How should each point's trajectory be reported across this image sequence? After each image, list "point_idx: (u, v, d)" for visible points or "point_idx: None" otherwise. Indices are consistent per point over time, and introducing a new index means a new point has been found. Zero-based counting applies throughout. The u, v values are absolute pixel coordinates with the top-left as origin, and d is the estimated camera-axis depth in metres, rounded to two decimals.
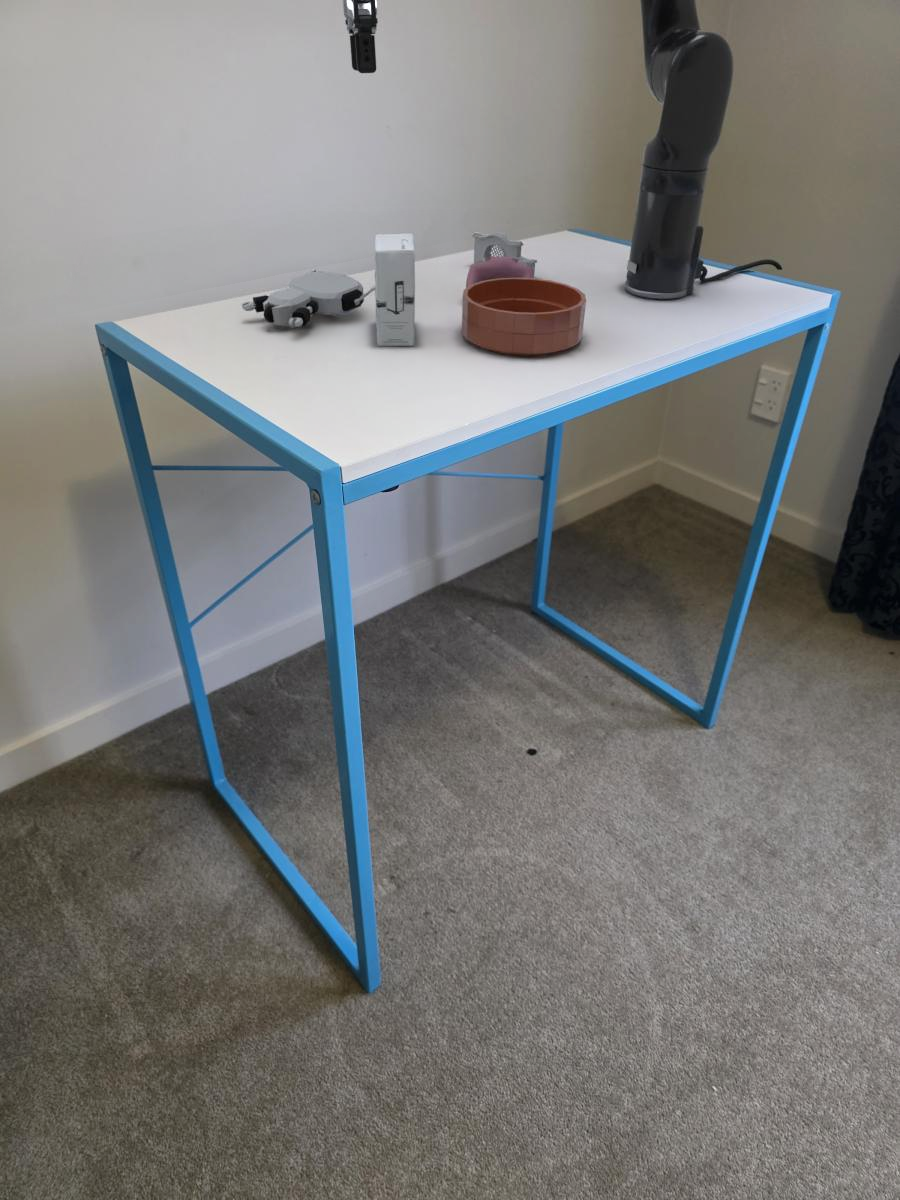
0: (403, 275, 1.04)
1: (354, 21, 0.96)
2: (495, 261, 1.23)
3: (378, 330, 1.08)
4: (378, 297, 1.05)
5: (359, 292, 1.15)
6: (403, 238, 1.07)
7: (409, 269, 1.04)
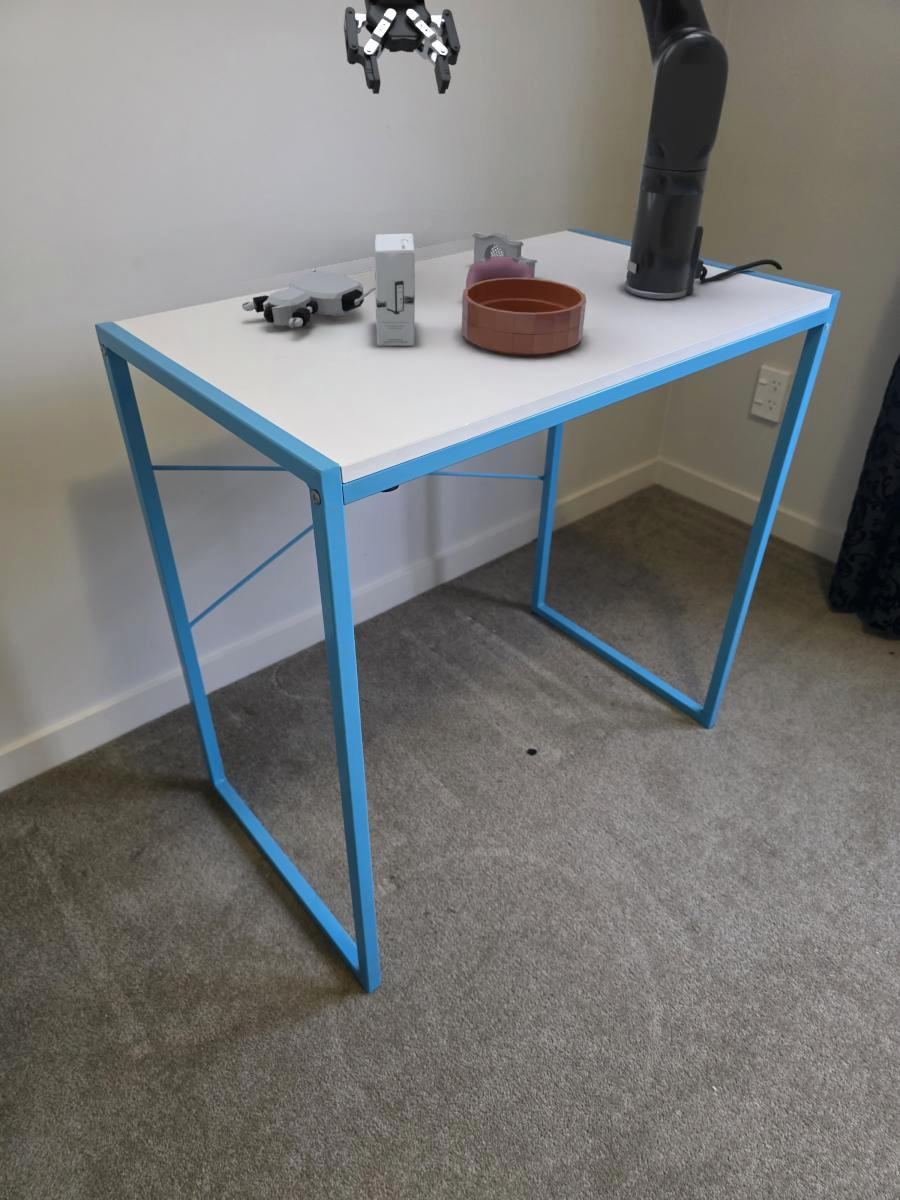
0: (403, 275, 1.04)
1: None
2: (495, 261, 1.23)
3: (378, 330, 1.08)
4: (378, 297, 1.05)
5: (359, 292, 1.15)
6: (403, 238, 1.07)
7: (409, 269, 1.04)
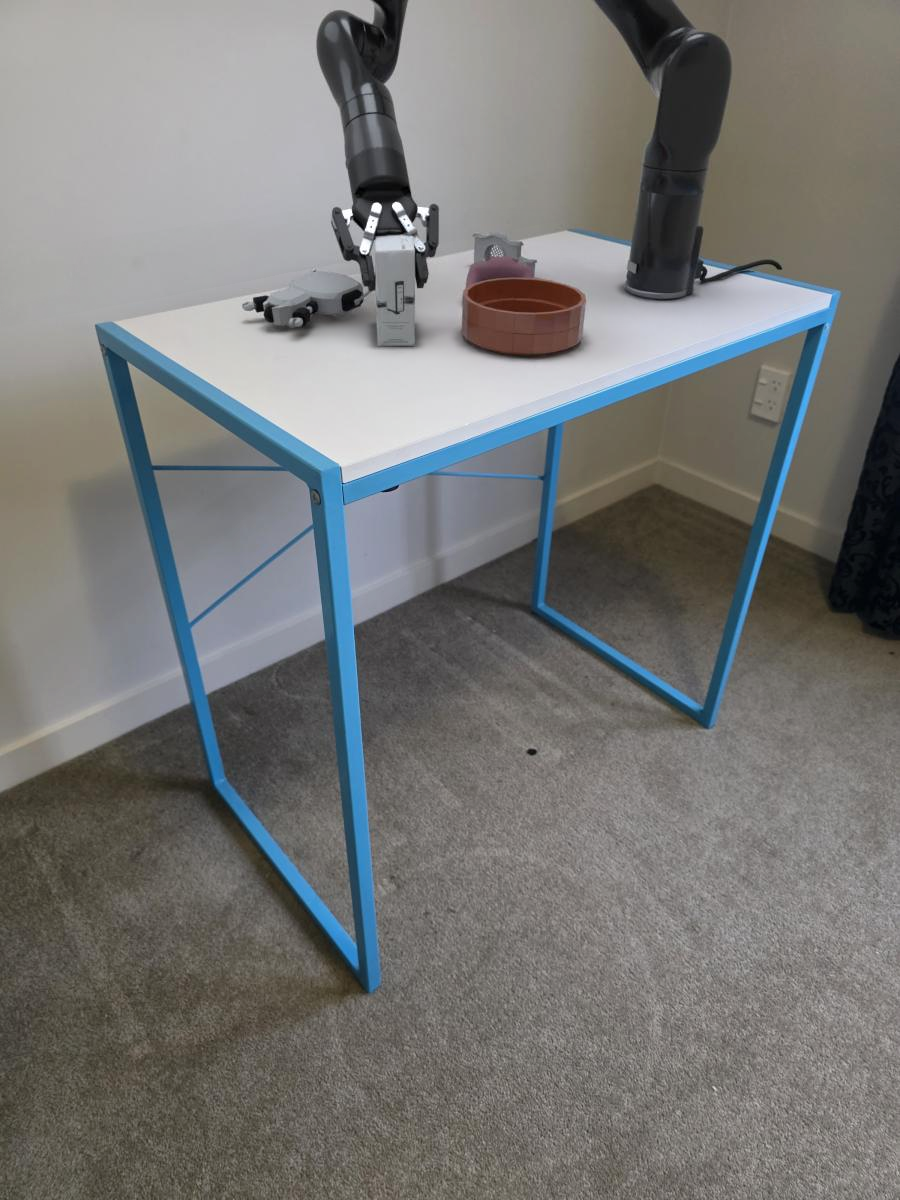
0: (403, 275, 1.04)
1: None
2: (495, 261, 1.23)
3: (378, 330, 1.08)
4: (378, 297, 1.05)
5: (359, 292, 1.15)
6: (403, 238, 1.07)
7: (409, 269, 1.04)
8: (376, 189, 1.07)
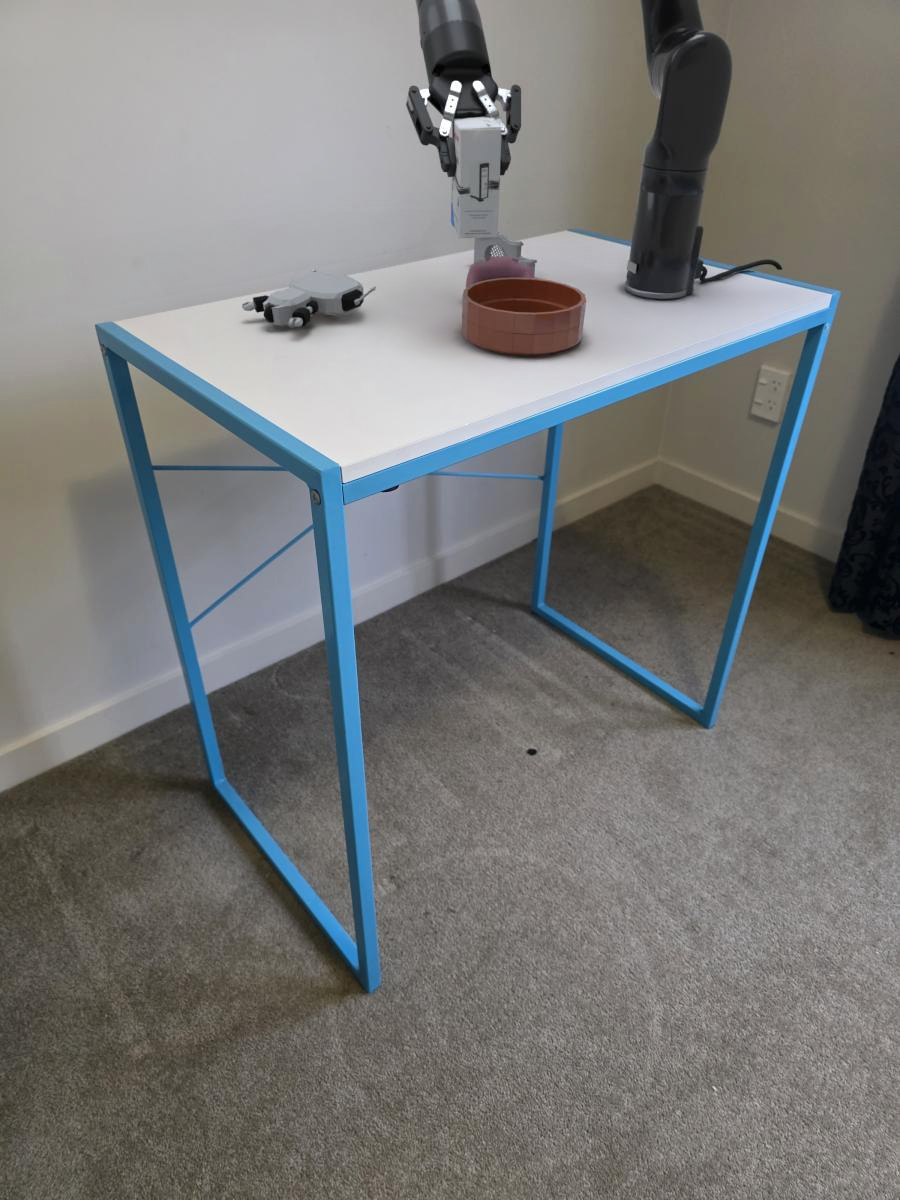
0: (488, 156, 0.97)
1: None
2: (495, 261, 1.23)
3: (460, 220, 1.00)
4: (461, 182, 0.98)
5: (359, 292, 1.15)
6: (484, 119, 0.99)
7: (495, 149, 0.96)
8: (455, 66, 1.00)
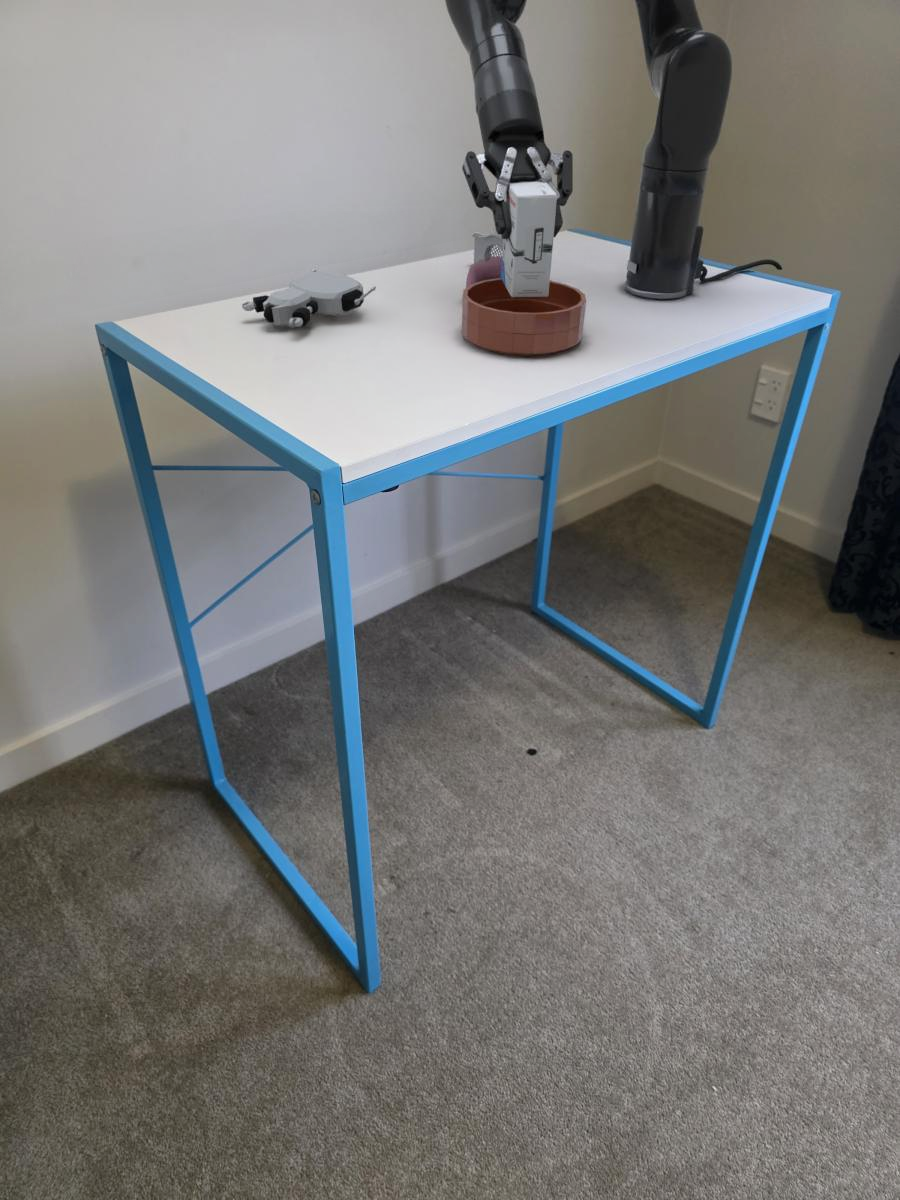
0: (543, 222, 1.01)
1: None
2: (495, 261, 1.23)
3: (513, 281, 1.04)
4: (516, 245, 1.02)
5: (359, 292, 1.15)
6: (538, 184, 1.03)
7: (550, 215, 1.00)
8: (510, 133, 1.04)
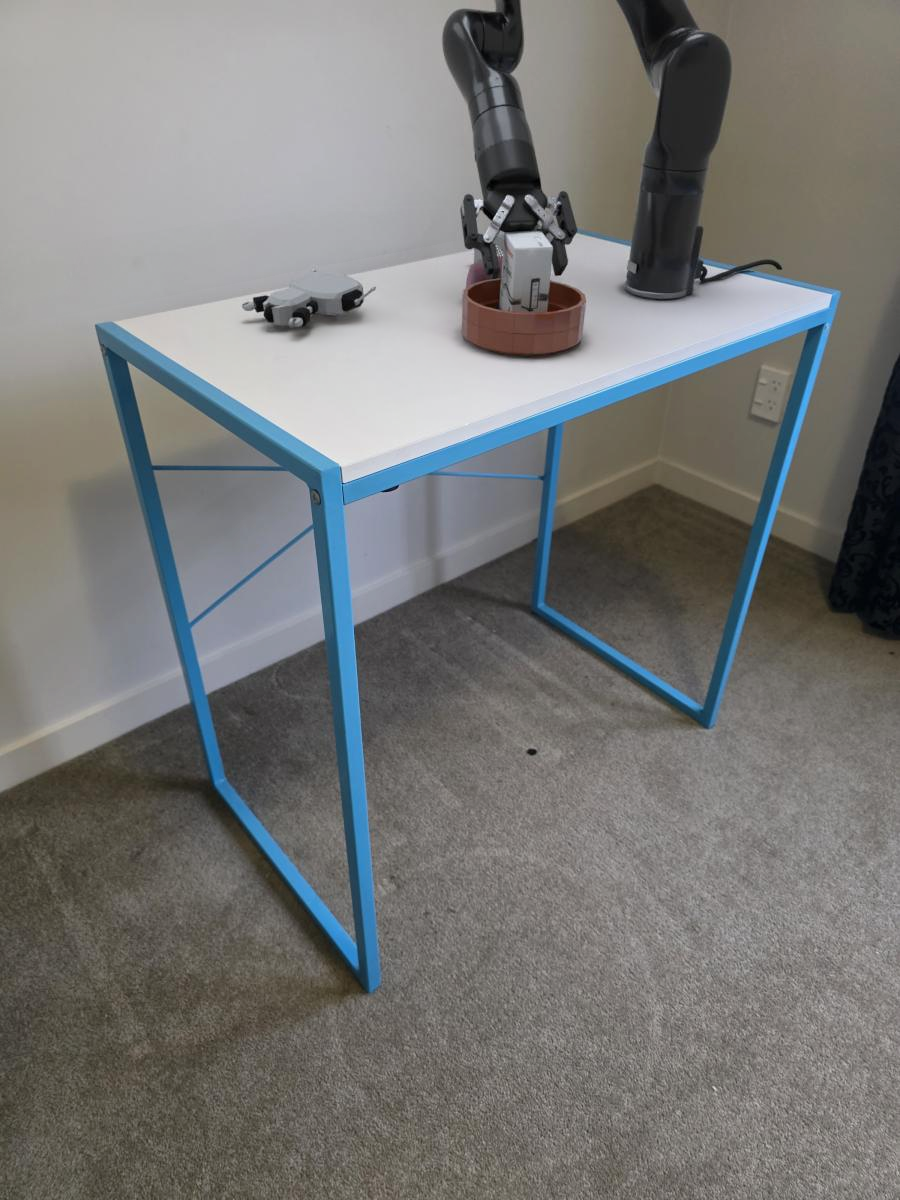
0: (540, 272, 1.04)
1: None
2: None
3: None
4: (513, 294, 1.05)
5: (359, 292, 1.15)
6: (535, 235, 1.07)
7: (546, 266, 1.04)
8: (508, 181, 1.07)
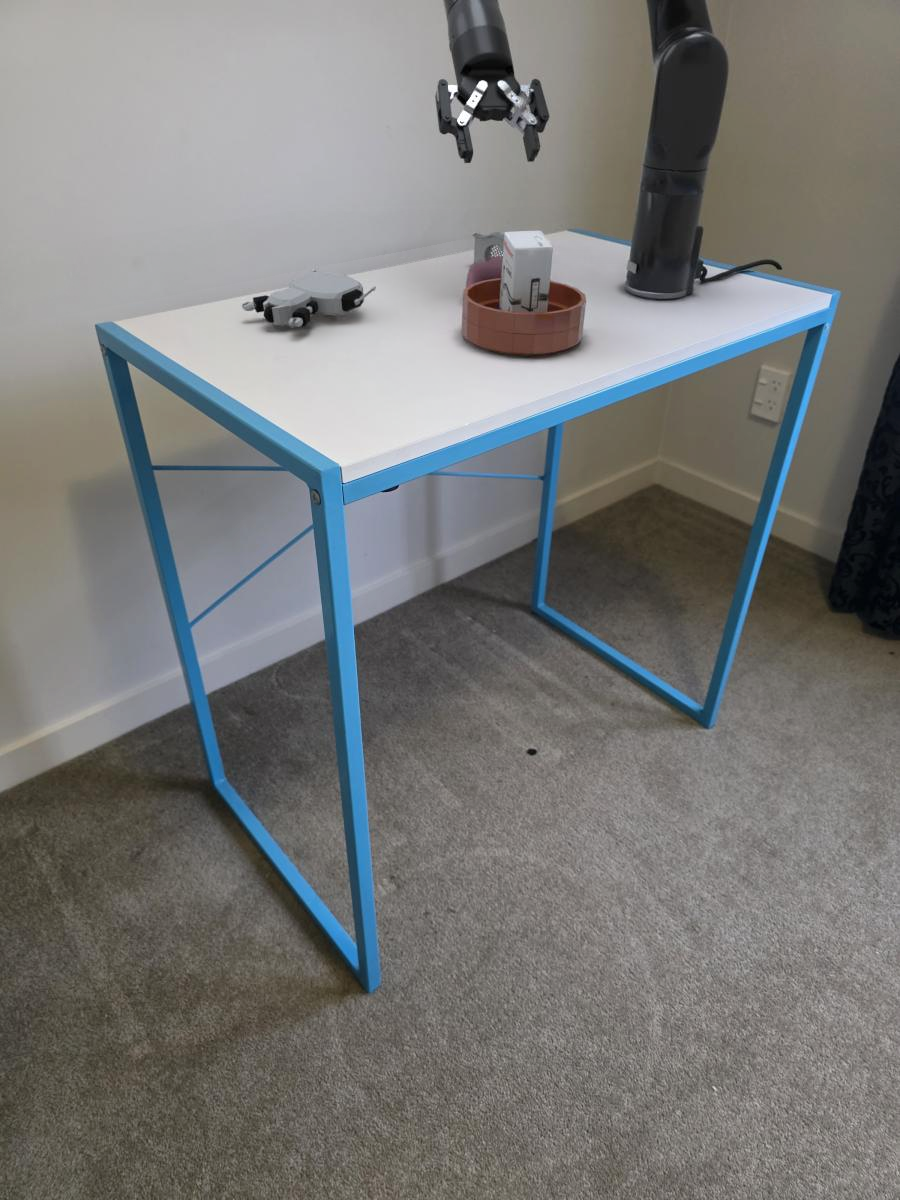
0: (540, 272, 1.04)
1: None
2: (495, 261, 1.23)
3: None
4: (513, 294, 1.05)
5: (359, 292, 1.15)
6: (535, 235, 1.07)
7: (546, 266, 1.04)
8: (481, 67, 1.10)
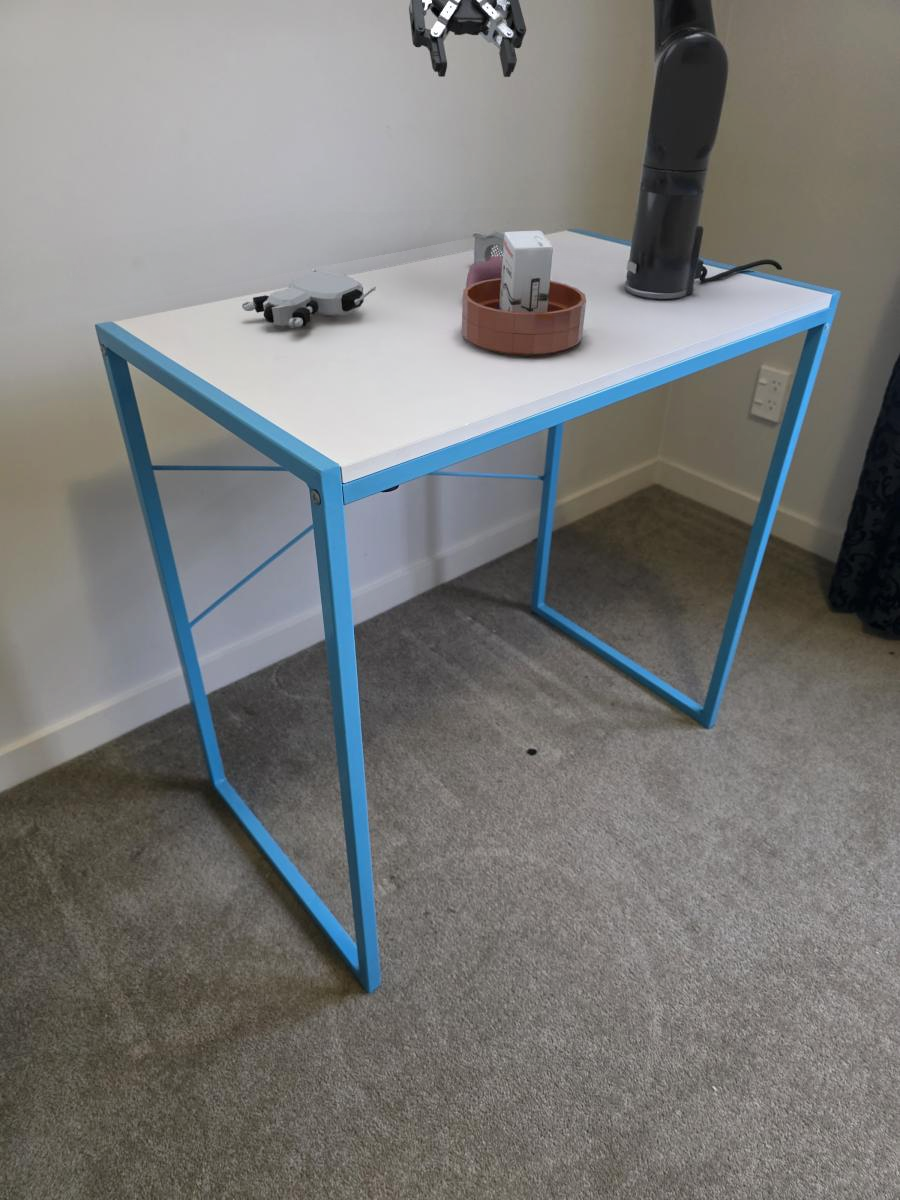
0: (540, 272, 1.04)
1: None
2: (495, 261, 1.23)
3: None
4: (513, 294, 1.05)
5: (359, 292, 1.15)
6: (535, 235, 1.07)
7: (546, 266, 1.04)
8: None
